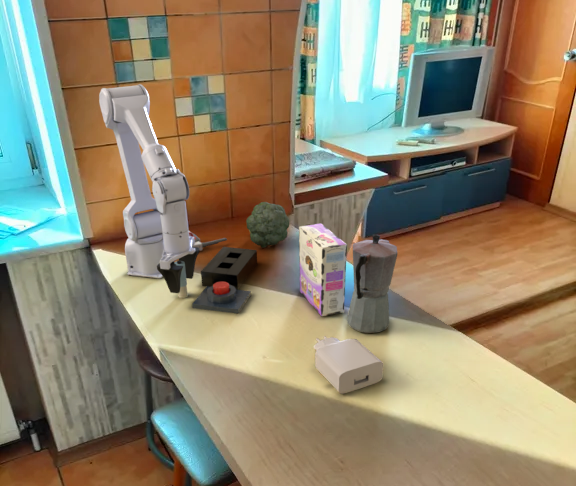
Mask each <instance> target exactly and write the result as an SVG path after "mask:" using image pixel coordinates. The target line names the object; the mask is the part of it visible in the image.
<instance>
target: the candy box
mask: <svg viewBox="0 0 576 486" xmlns="http://www.w3.org/2000/svg"><path fill="white" fill-rule="evenodd" d="M298 251H299V252H298V255H299V256H298V257H299V260H298V261H299V262H298V263H299V264H298V265H299V292H300V293H301V295H302V296H303V297H304V298H305V299H306V300H307V302H309V304H310V305H311V306H312V307H313V308H314V309H315V311H316V312H317V313H318V314H319V315H320V317H325V316H326V317H327V316H331V315H336V314H341V313H342V314H343V313H345V300H346V299H345V298H346V297H345V296H346V277H347V275H346V274H347V273H346V272H347V256H348V255H347V252H348V244H347V243H346V242H345V241H343V240H342V239H341V238H340V237H338V236H337V235H336V234H335V233H334V232H332V231H331V230H330V229H329V228H328V227H326V226H325V225H324V224H323V223H314V224H306V225H301V226H299V227H298Z"/></svg>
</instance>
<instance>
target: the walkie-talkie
mask: <svg viewBox="0 0 576 486" xmlns="http://www.w3.org/2000/svg"><path fill="white" fill-rule="evenodd" d="M189 236H191V237H194V239H195V245H194V246H193V247H198V248H199V252H202V251H203V249H204V248H206V247H209V246H213V245H217V244H219V243H222V242H226V241H228V239H227V238H226V237H223V238H219V239H215V240H211V241H205V242H201V238H200V237H198V236H197V234H195V233H193V232H192V231H190V230H189Z"/></svg>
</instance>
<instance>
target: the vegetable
mask: <svg viewBox="0 0 576 486" xmlns="http://www.w3.org/2000/svg"><path fill="white" fill-rule="evenodd" d="M245 223H246V229H247V230H248V231H249V237H250V241H251V242H252V243H253V244H255V245H257V246H258V247H260V248H262V249H264V248H267V247H268V246H275V245H278V244H279V242H283V241H284V240H285V239H286V238H287V237H288V229H289V227H290V219H289V217H288V216H287V214H286V210H285V208H284V207H283V206H282V205H280V204H275V203H269V202H267V201H261V202H260V203H258V204H256V205H254V207H253V209H252V211H251V214H250V215H249V216H248V217H247V218H246V221H245Z"/></svg>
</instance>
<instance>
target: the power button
mask: <svg viewBox="0 0 576 486" xmlns="http://www.w3.org/2000/svg"><path fill="white" fill-rule="evenodd" d="M213 290H214V294H218V295H223V294H227V293H229V284H228V283H227V282H216V283H215V284H214V285H213Z"/></svg>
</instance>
